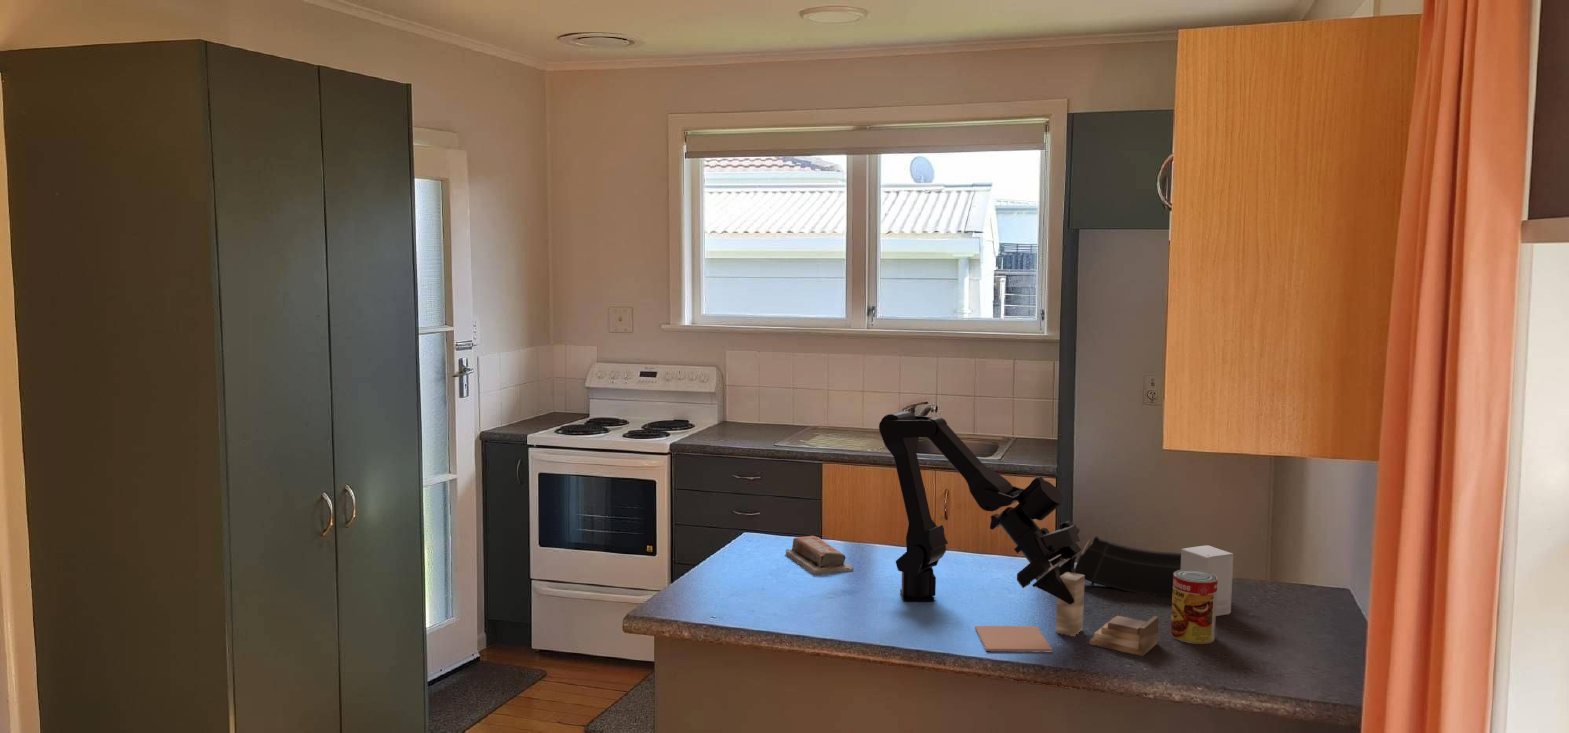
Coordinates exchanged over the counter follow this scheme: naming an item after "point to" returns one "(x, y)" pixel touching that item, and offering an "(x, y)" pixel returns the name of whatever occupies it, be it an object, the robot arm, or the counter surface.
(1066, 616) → the tall wooden block
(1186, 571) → the canned food
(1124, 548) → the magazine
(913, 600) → the robot arm
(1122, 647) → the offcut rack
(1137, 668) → the counter surface
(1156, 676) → the counter surface
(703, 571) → the counter surface
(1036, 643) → the tile
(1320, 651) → the counter surface
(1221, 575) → the supplement box
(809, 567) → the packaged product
